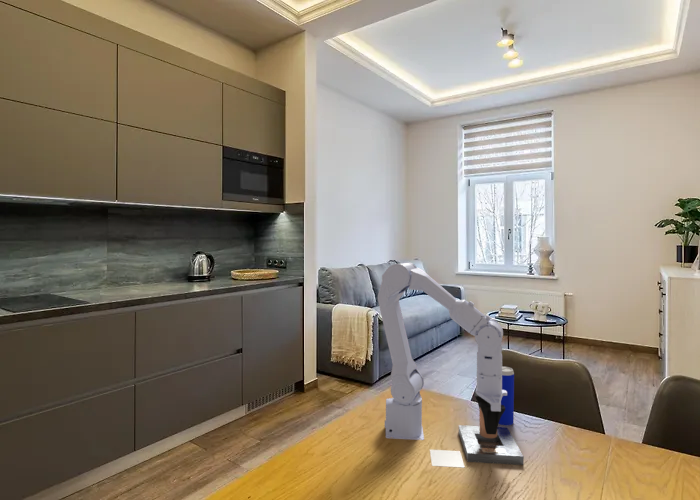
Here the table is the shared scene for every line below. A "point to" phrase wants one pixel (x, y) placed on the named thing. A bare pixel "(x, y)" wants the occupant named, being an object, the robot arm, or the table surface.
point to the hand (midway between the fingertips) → (488, 429)
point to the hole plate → (490, 446)
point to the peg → (482, 427)
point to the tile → (446, 458)
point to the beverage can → (507, 400)
